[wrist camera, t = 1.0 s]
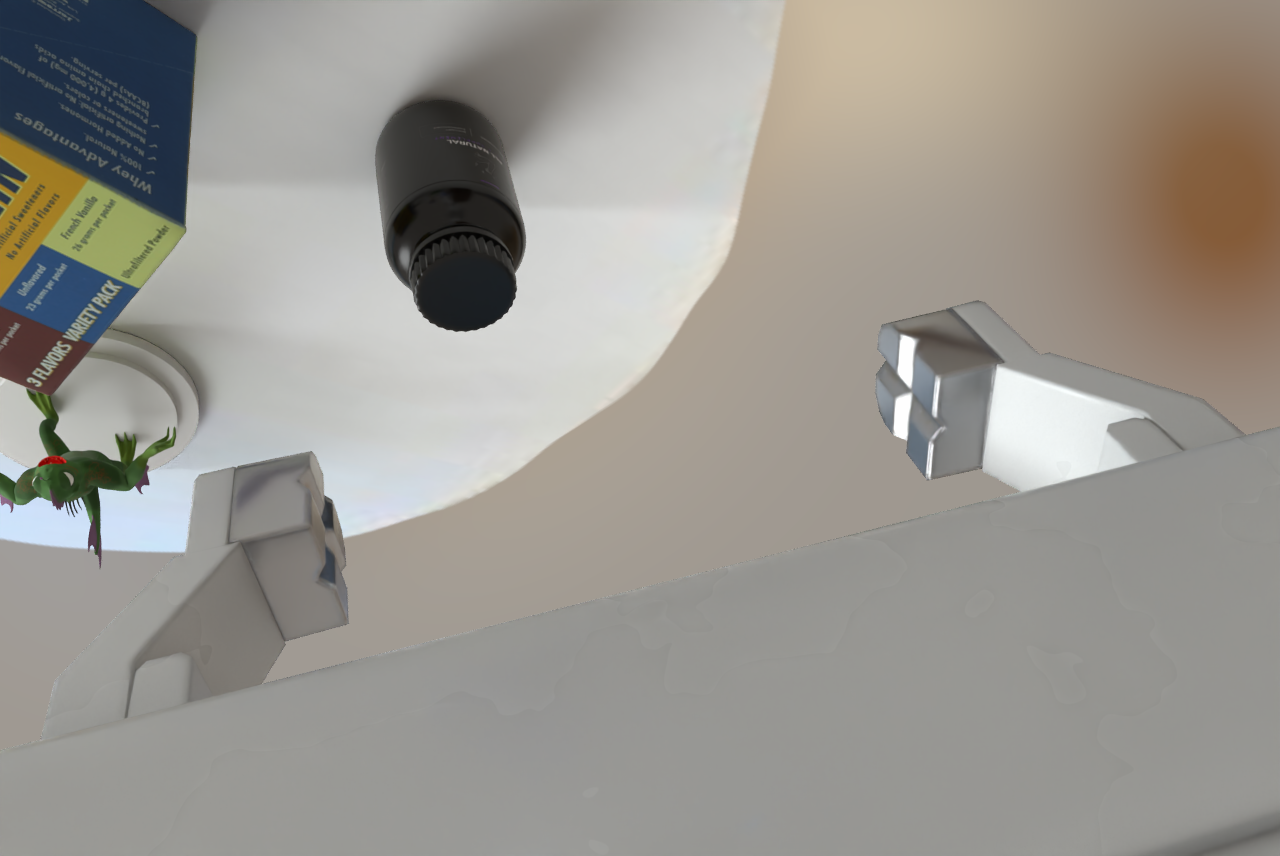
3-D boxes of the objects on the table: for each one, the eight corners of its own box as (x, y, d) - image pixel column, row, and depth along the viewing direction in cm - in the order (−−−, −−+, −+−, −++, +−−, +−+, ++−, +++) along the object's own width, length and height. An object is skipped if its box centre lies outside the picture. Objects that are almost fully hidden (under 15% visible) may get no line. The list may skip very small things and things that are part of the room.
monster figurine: (169, 313, 60) (160, 444, 53) (219, 455, 68) (217, 583, 62) (-66, 340, 57) (-107, 481, 50) (17, 483, 66) (-9, 621, 59)
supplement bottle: (492, 84, 55) (534, 220, 47) (508, 195, 60) (548, 335, 52) (358, 105, 54) (378, 248, 46) (386, 216, 59) (408, 362, 51)
